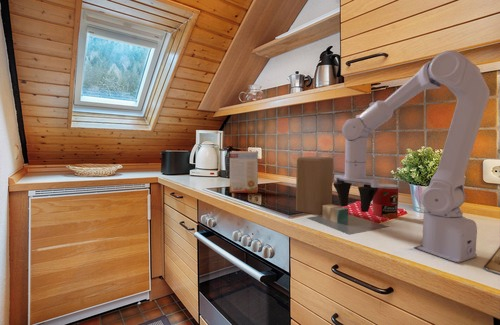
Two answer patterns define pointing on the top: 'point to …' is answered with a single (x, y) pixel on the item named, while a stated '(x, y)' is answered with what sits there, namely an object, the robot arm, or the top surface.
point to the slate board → (350, 224)
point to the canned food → (385, 201)
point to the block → (314, 184)
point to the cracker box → (243, 172)
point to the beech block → (335, 213)
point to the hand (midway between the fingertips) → (354, 208)
